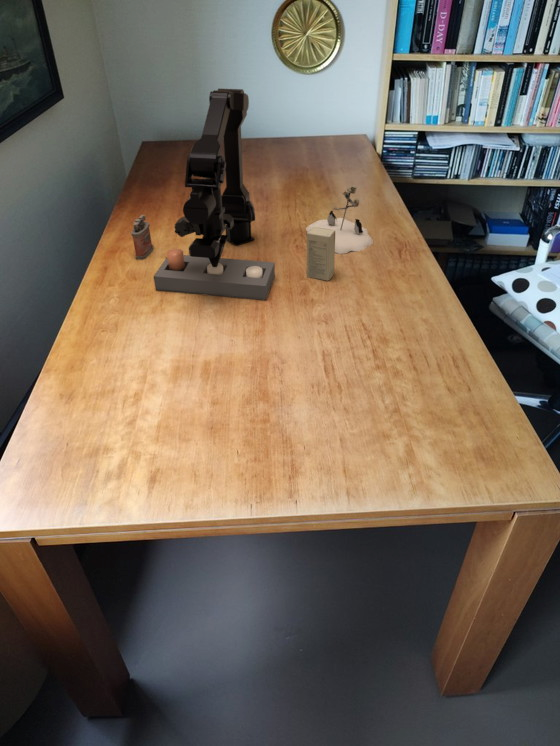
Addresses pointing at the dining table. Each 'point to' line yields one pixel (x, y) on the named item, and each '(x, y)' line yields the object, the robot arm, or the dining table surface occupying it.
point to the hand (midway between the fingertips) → (215, 266)
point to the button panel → (216, 278)
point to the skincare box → (320, 253)
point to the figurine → (346, 229)
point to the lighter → (141, 238)
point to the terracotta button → (175, 259)
